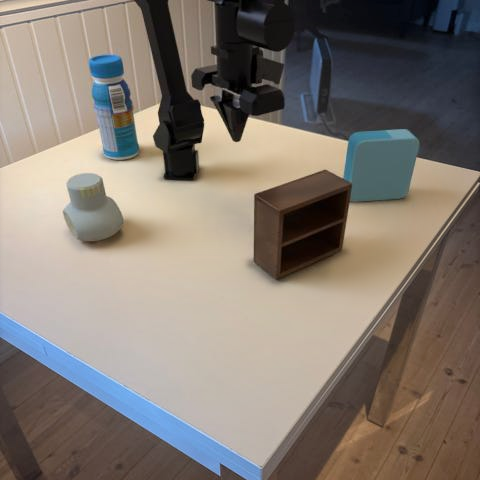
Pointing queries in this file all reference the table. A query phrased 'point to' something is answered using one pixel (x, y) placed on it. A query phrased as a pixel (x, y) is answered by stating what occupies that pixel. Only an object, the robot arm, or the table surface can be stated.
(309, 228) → the shelf
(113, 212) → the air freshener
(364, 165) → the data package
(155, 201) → the table surface
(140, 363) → the table surface
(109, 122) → the beverage bottle
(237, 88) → the robot arm
